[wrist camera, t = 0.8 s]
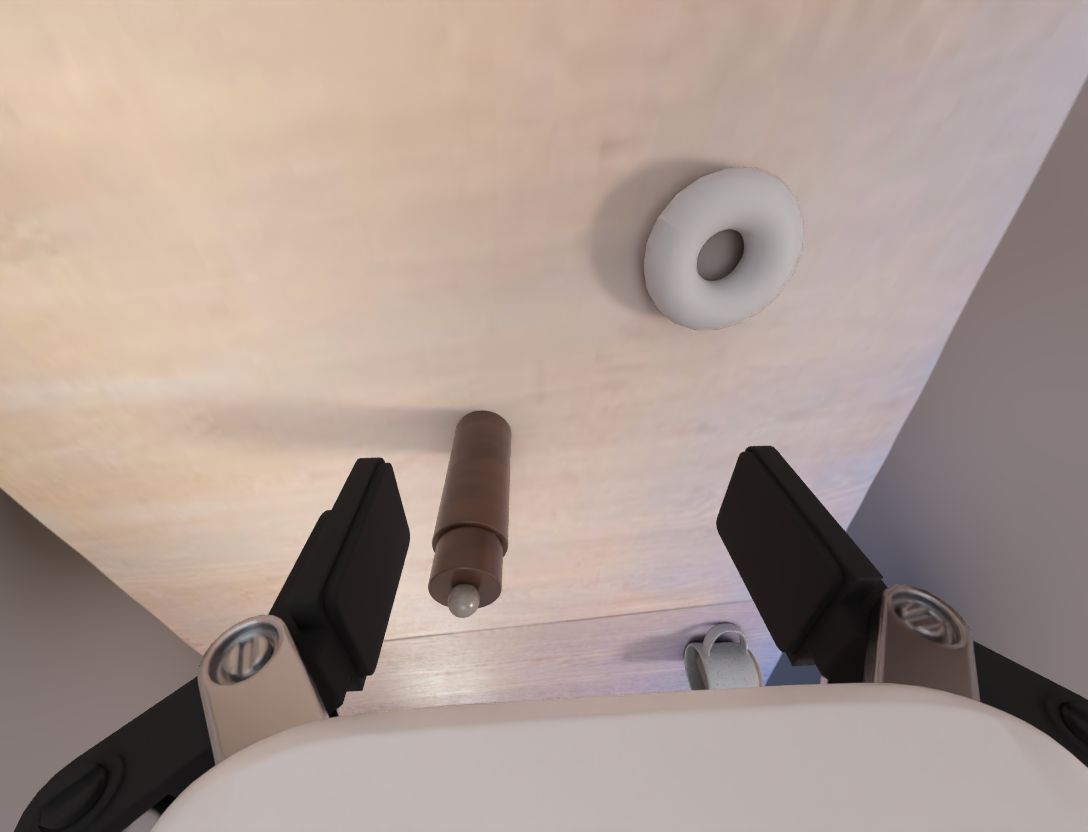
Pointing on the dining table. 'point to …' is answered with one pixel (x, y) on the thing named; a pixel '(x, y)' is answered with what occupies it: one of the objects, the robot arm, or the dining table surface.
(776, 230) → the donut
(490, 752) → the robot arm
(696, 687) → the ceramic mug
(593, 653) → the dining table surface
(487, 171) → the dining table surface
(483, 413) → the pepper mill
